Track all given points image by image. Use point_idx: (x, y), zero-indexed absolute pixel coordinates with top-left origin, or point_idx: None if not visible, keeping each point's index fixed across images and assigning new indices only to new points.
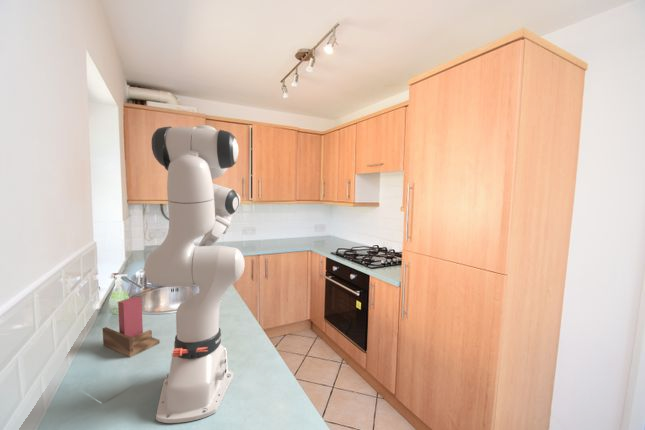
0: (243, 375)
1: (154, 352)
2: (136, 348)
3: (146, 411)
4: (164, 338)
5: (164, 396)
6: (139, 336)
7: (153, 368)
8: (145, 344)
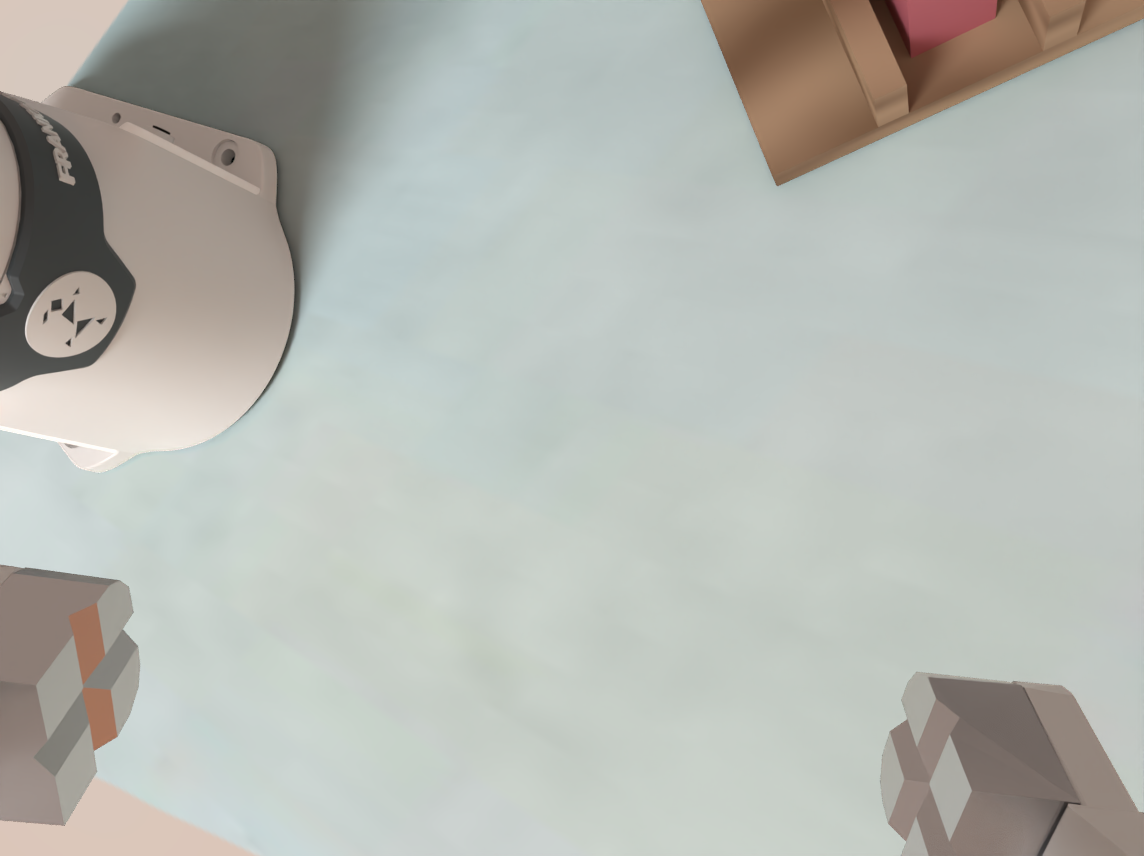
0: (69, 516)
1: (659, 140)
2: (742, 9)
3: (150, 62)
4: (856, 237)
5: (143, 127)
6: (829, 3)
7: (456, 116)
8: (766, 71)
